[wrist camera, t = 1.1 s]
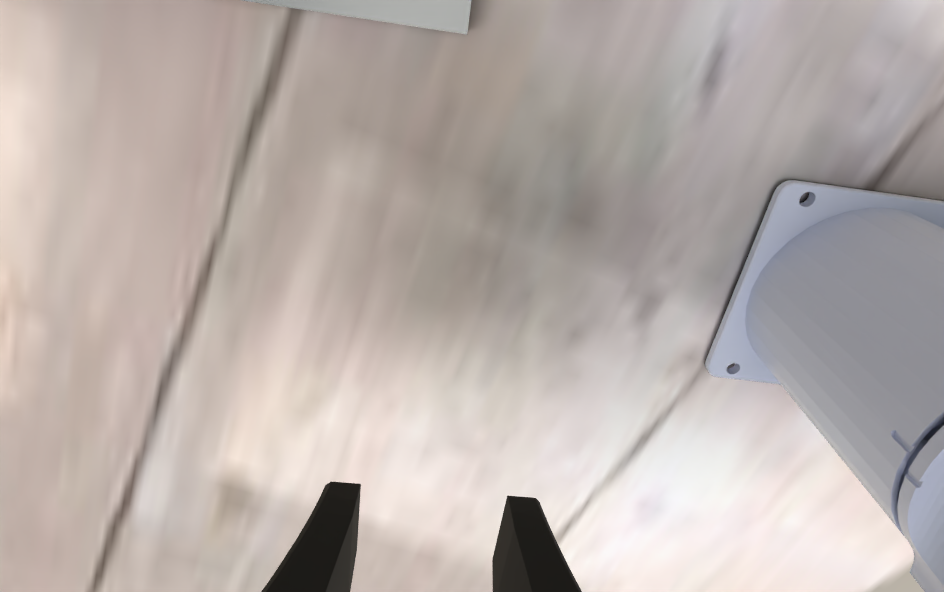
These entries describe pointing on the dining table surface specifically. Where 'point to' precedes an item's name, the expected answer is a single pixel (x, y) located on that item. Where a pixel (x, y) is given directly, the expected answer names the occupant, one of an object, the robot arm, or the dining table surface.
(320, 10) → the frame
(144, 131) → the dining table surface
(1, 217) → the dining table surface
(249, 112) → the dining table surface
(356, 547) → the robot arm
